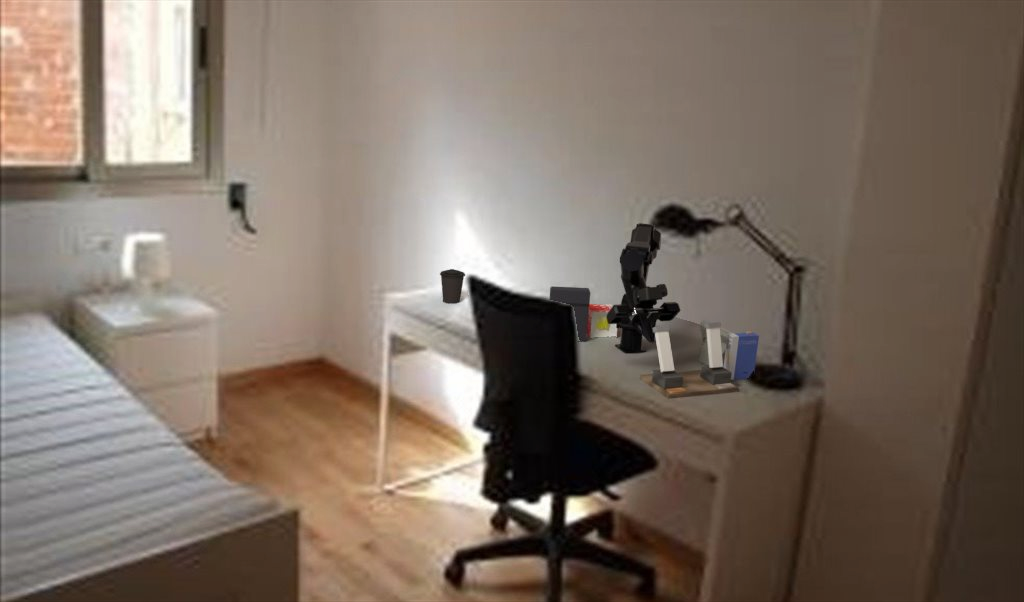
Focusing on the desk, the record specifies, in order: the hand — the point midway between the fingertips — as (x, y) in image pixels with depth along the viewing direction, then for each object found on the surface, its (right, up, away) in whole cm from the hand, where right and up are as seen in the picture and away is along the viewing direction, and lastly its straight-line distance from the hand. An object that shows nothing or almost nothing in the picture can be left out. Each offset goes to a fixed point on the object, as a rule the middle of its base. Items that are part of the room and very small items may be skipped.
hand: (652, 342), depth 240 cm
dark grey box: (-20, -1, +30) cm, 36 cm away
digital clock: (+21, -7, +16) cm, 27 cm away
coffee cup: (-55, +10, +62) cm, 83 cm away
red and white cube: (-10, +1, +37) cm, 38 cm away
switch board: (+9, -11, -1) cm, 14 cm away
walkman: (+23, -10, +7) cm, 26 cm away
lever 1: (+3, -7, -6) cm, 10 cm away
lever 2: (+16, -7, -1) cm, 17 cm away
